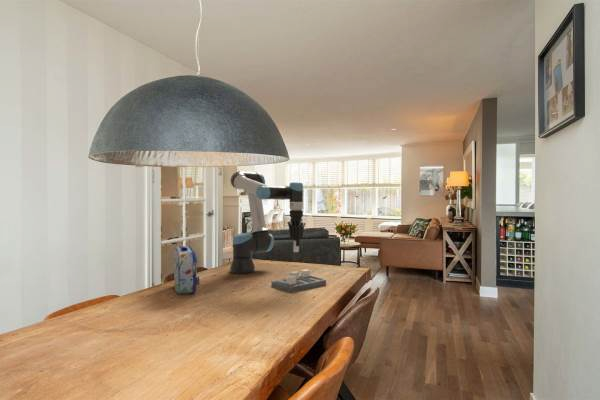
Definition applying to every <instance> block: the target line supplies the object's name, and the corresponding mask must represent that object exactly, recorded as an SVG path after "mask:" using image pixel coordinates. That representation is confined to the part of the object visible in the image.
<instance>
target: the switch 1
mask: <svg viewBox="0 0 600 400" xmlns="http://www.w3.org/2000/svg"><path fill="white" fill-rule="evenodd" d="M285 277H286V278H285V279H286V283H287V284H290V285H292V284H296V276H290V275H288V276H285Z"/></svg>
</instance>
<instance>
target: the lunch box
mask: <svg viewBox="0 0 600 400" xmlns="http://www.w3.org/2000/svg"><path fill="white" fill-rule="evenodd" d="M173 253H174V254H173V276H174V279H173V280H174V281H173V287H174V290H175V292H176V293H177V294H178V295H181V294H194V293H196V292H197V287H198V286H200V282H201V281H200V276H198V274H197V273H198V270H197V263H198V257H197V254H196V252H195V250H194V249H193V248H192V246H191V245H188V246H185V245H182V246H177V247H175V249H174V252H173Z"/></svg>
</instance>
